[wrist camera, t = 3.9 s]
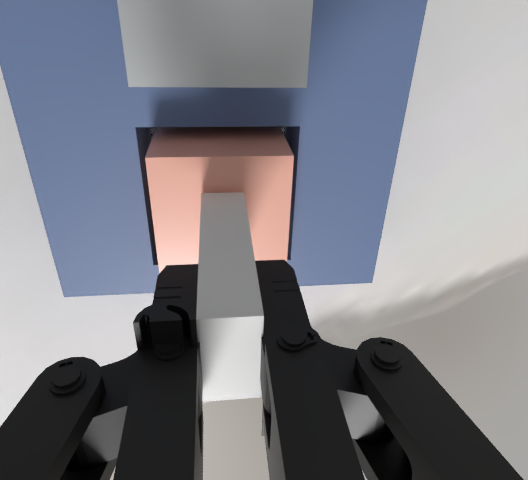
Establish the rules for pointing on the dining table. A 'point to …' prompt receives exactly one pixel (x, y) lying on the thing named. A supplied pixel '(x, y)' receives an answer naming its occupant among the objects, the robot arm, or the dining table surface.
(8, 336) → the dining table surface
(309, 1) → the key grey
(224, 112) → the board
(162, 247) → the key coral
